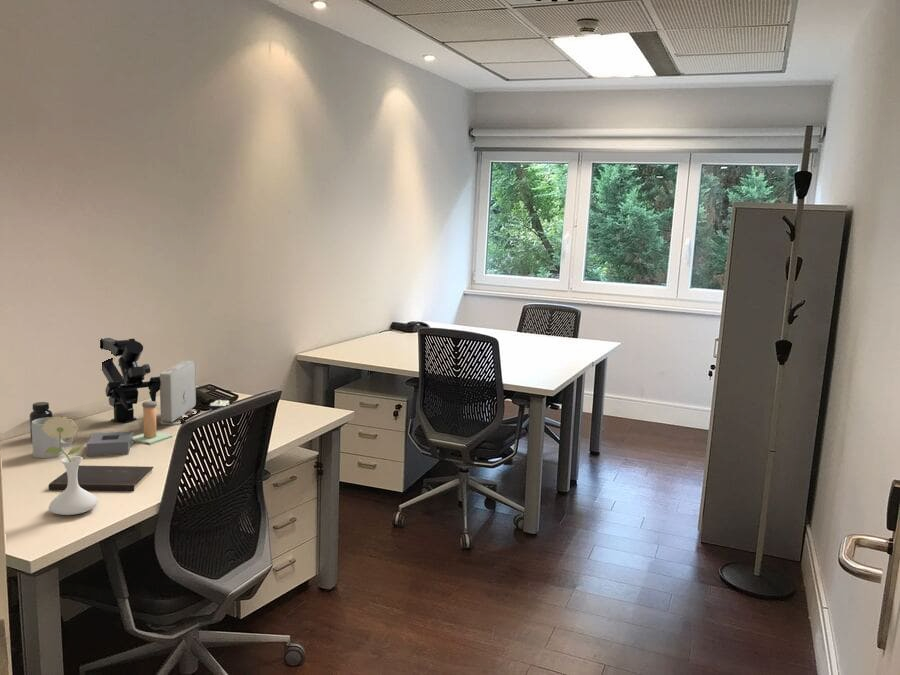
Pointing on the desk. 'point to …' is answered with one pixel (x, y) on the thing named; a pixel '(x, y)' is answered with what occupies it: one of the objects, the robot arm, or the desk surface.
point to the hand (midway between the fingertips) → (141, 406)
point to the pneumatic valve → (218, 404)
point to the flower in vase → (68, 471)
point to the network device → (177, 392)
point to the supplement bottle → (39, 412)
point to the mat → (151, 440)
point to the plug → (149, 419)
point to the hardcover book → (105, 478)
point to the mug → (45, 440)
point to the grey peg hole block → (109, 443)
